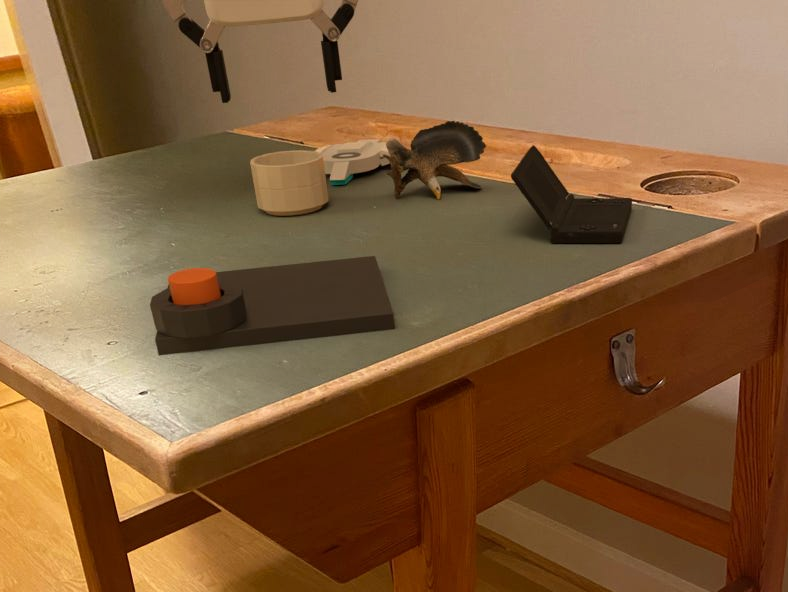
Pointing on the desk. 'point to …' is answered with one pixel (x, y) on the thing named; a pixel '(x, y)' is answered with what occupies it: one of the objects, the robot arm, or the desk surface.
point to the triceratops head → (435, 156)
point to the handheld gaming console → (569, 205)
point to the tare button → (194, 286)
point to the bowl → (289, 182)
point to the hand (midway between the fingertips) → (279, 95)
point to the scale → (277, 306)
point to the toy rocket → (352, 158)
